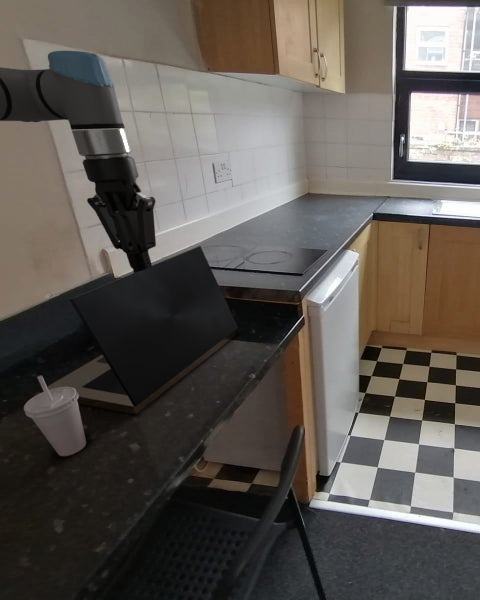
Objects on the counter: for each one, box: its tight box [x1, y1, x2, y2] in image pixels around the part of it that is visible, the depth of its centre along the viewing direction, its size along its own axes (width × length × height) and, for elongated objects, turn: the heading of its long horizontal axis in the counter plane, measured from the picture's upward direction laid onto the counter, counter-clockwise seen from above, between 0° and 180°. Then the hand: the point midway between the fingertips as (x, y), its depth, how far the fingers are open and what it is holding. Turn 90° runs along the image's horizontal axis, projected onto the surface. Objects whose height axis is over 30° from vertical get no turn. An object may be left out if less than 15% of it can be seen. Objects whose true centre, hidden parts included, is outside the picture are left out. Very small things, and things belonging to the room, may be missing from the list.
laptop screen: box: [69, 245, 239, 406], centre depth 81 cm, size 21×30×1 cm
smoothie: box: [23, 375, 87, 457], centre depth 62 cm, size 6×6×14 cm
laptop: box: [41, 329, 237, 415], centre depth 87 cm, size 21×30×2 cm
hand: (146, 283), depth 79 cm, fingers closed
